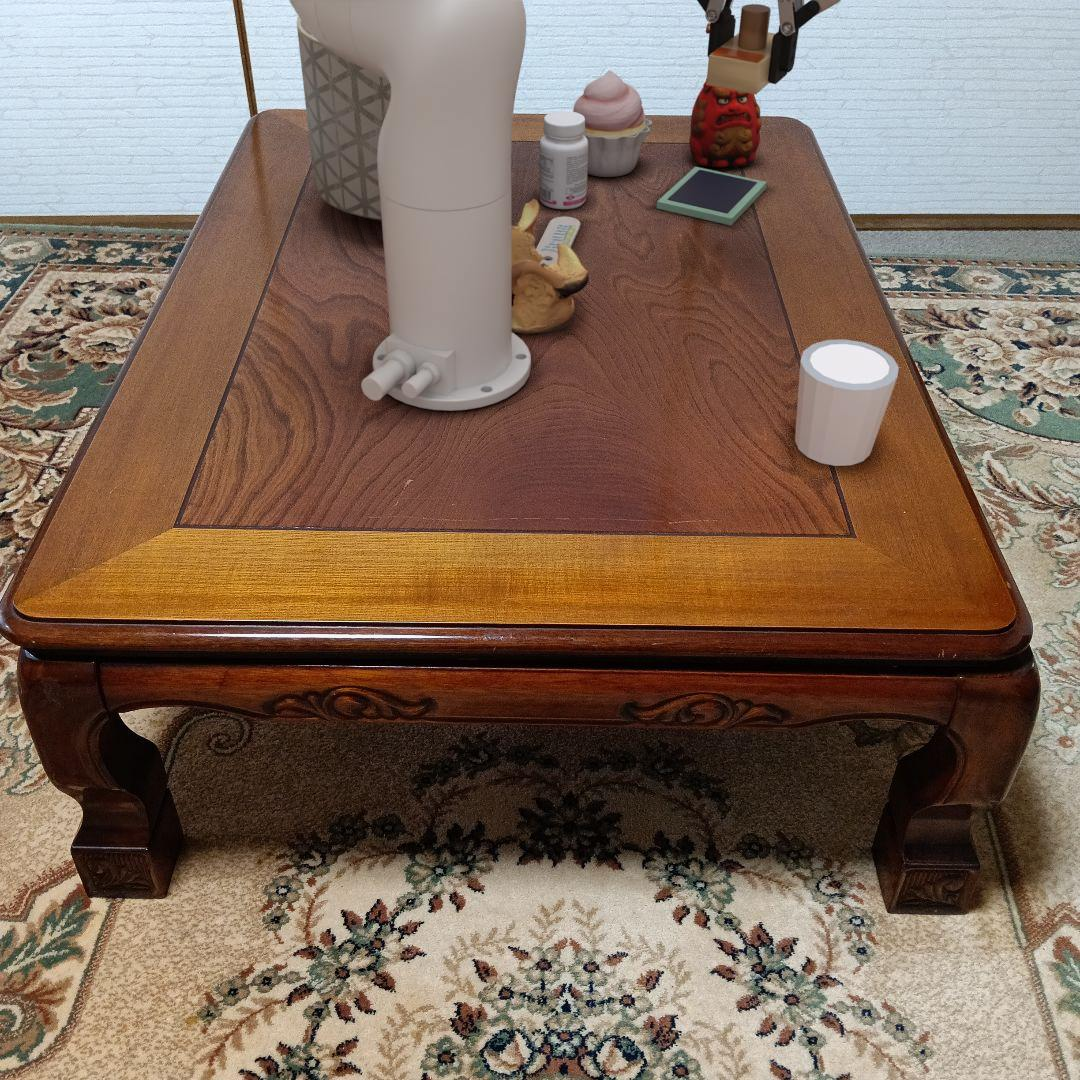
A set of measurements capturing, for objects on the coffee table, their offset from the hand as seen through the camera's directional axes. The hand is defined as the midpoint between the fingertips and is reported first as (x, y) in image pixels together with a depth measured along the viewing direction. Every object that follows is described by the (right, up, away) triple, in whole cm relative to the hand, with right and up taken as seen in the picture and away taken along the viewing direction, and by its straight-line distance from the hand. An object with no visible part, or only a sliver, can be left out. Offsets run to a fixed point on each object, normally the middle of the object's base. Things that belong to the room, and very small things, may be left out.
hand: (749, 71), depth 103 cm
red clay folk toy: (+2, +1, +28) cm, 28 cm away
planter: (-30, -7, +17) cm, 36 cm away
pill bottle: (-16, -6, +19) cm, 25 cm away
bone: (-19, -20, +1) cm, 28 cm away
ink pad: (0, -5, +20) cm, 20 cm away
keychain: (-16, -12, +11) cm, 23 cm away
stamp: (0, 0, 0) cm, 0 cm away
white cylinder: (+4, -33, -13) cm, 36 cm away
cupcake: (-11, 0, +26) cm, 28 cm away
